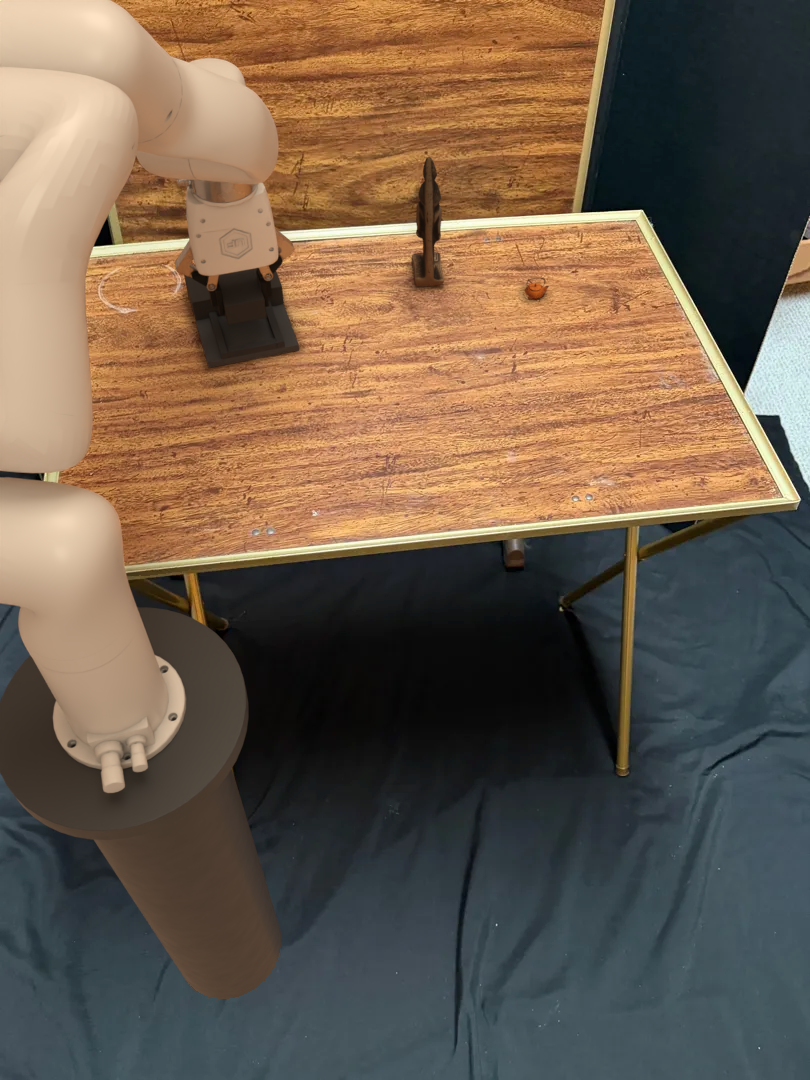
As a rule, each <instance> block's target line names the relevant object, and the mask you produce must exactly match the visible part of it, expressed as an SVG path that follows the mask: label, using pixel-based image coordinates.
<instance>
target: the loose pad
mask: <svg viewBox="0 0 810 1080" xmlns="http://www.w3.org/2000/svg"><path fill="white" fill-rule="evenodd" d="M218 281H219V284H220V287H221V290H222V296H223V304H224V310H225V316H226V320H227V323H228V325H230V324H236V323H241V322H246V321H251V320H257V319H262V318H266V317H267V316H266V308H265V300H264V297H263V294H262V292H261V289H260V286H259V283H258V280H257V277H256V274H255V271H249V272H244V273H238V274H233V275H227V276H222V277H218Z"/></svg>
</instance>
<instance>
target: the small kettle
mask: <svg viewBox="0 0 810 1080" xmlns="http://www.w3.org/2000/svg"><path fill="white" fill-rule="evenodd" d="M535 279H538V277H537V276H536V277H532V278H529V279H528V280H527V281H526V282H525V283H526V286H525V288H524V291H523V295H524V297H525V298H526V299H527V300H529V301H532V300H538V299H542V297H544V295H545V293H546V292H547V291H548V288H549V287H550V286H549V285H546V286H545V284H546V279H545V278H543V277H539V279H541V280H543V281H544V282H543V285H542V284H541V283H538V282H531V283H529V282H530V281H532V280H535ZM528 283H529V284H528Z"/></svg>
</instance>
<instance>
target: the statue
mask: <svg viewBox="0 0 810 1080" xmlns="http://www.w3.org/2000/svg"><path fill="white" fill-rule="evenodd" d="M434 162H435V161H434V160H433V159H432V157H431V156H428V157H426V159H425V160H424V163H423V169H422V176H423V180H424V181H423V182H422V184H421V185H420V187H419V189H418V200H419V201H418V202H417V204H416V209H415V210H416V211H415V213H416V214H415V216H416V217H415V219H416V220H415V222H416V223H415V224H416V231H415V235H416V237H417V238H419V239H422V252H415V253H413V254H411V263H412V268H413V276H414V277H413V279H414V281H413V283H414V285H415V286H416V287H429V286H440V285H443V284H444V283H445V278H444V274H443V269H442V259H441V258H442V257H441V253H440V252H438V251H435V244H436V243H437V242H438V241H440V240H441V237H442V233H441V229H442V228H441V227H442V214H443V211H442V207H441V204H440V202H441V199H442V195H441V190H440V187H439V184H438V183H437V181H436V178H437V176H438V171H437V168H436V164H435V163H434Z"/></svg>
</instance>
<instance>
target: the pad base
mask: <svg viewBox="0 0 810 1080" xmlns="http://www.w3.org/2000/svg"><path fill="white" fill-rule="evenodd" d="M256 270H257V268H255V269H249V270H244V271H238V272H233V273H227V274H221V275H219V277H222V276H227V275H233V274H238V273H244V272H249V271H255V274H256ZM183 278H184V282H185V287H186V292H187V295H188V296H187V297H188V299H189V304H190V307H191V310H192V313H193V318H194V322H195V325H196V329H197V332H198V336H199V340H200V342H201V347H202V350H203V353H204V357H205V361H206V364H207V367H208V369H211V368H215V367H216V368H217V367H221V366H226V365H227V366H228V365H232V364H236V363H241V362H246V361H247V362H248V361H251V360H257V359H263V358H267V357H272V356H277V355H282V354H287V353H293V352H298V351H300V344H299V342H298V339H297V336H296V332H295V330H294V328H293V324H292V322H291V319H290V317H289V315H288V311H287V309H286V306H285V300H284V292H283V285H282V282H281V279H280V277H279V274H278V272H277V270H276V271H275V272H274V274H273V278H272V279H271V288H272V296H271V297H268V302H269V307H265V308H266V316H267V317H266V318H262V319H257V320H251V321H246V322H241V323H236V324H230V325H228V323H227V320H226V316H225V314H224V315H222V316H220V314H219V310H218V307H212V304H211V300H210V295H209V290H208V289H207V287H206V286H204V285H202V284H200V283H199V282H197V281H195V280H193V278H192V277H188V276H186V275H183Z"/></svg>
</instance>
